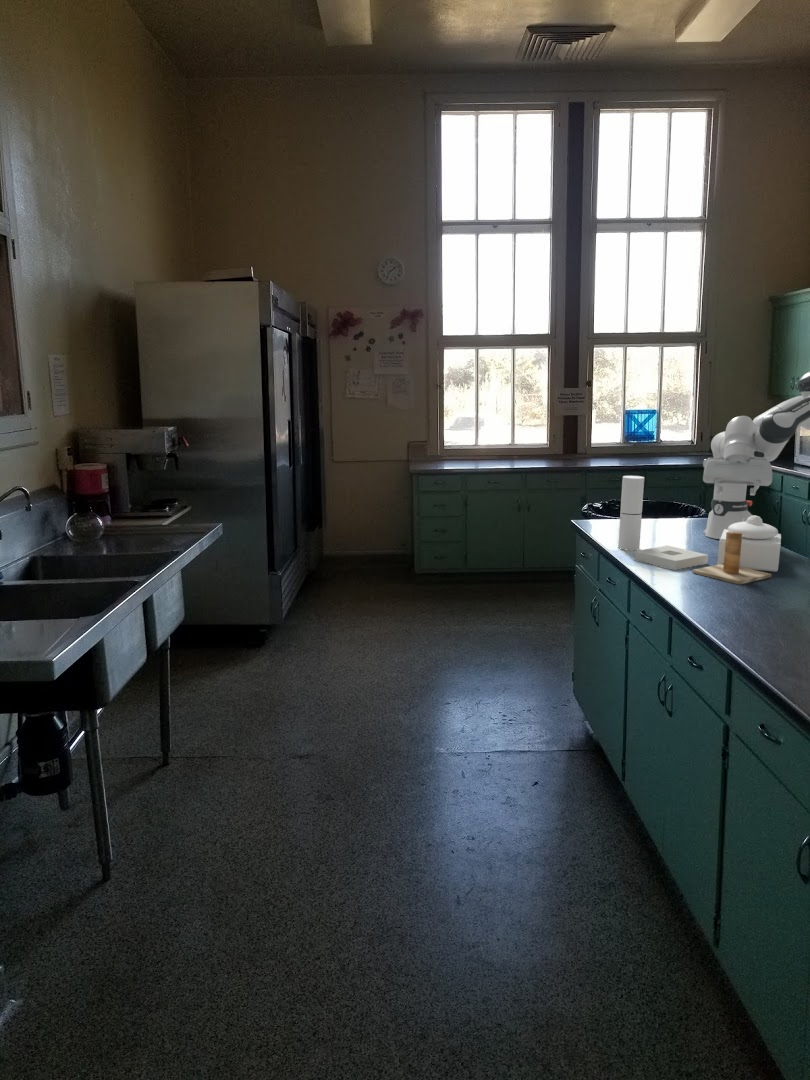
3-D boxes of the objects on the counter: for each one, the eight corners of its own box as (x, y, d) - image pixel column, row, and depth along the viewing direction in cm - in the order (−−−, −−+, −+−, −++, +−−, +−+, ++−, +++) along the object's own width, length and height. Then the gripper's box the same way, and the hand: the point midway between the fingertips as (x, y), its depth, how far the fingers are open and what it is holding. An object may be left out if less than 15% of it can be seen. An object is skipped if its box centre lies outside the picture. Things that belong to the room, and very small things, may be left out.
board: (724, 566, 251) (725, 563, 251) (771, 577, 238) (771, 574, 238) (692, 572, 243) (692, 569, 243) (738, 584, 230) (739, 581, 229)
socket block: (666, 554, 267) (667, 545, 267) (707, 563, 254) (708, 554, 254) (634, 560, 259) (635, 551, 258) (674, 570, 246) (675, 560, 245)
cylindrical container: (628, 551, 271) (633, 478, 266) (613, 547, 277) (618, 476, 272) (643, 549, 274) (648, 477, 269) (629, 545, 281) (633, 475, 275)
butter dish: (717, 566, 252) (721, 517, 249) (721, 554, 268) (725, 508, 265) (777, 572, 245) (783, 522, 242) (778, 560, 261) (783, 512, 258)
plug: (725, 569, 243) (728, 531, 241) (740, 571, 241) (743, 532, 238) (721, 572, 240) (724, 533, 237) (736, 574, 237) (740, 535, 235)
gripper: (704, 451, 255) (701, 485, 248) (773, 453, 248) (772, 489, 241) (702, 463, 260) (700, 497, 253) (771, 466, 253) (770, 501, 246)
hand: (736, 493), depth 247 cm, fingers open, 8 cm apart
